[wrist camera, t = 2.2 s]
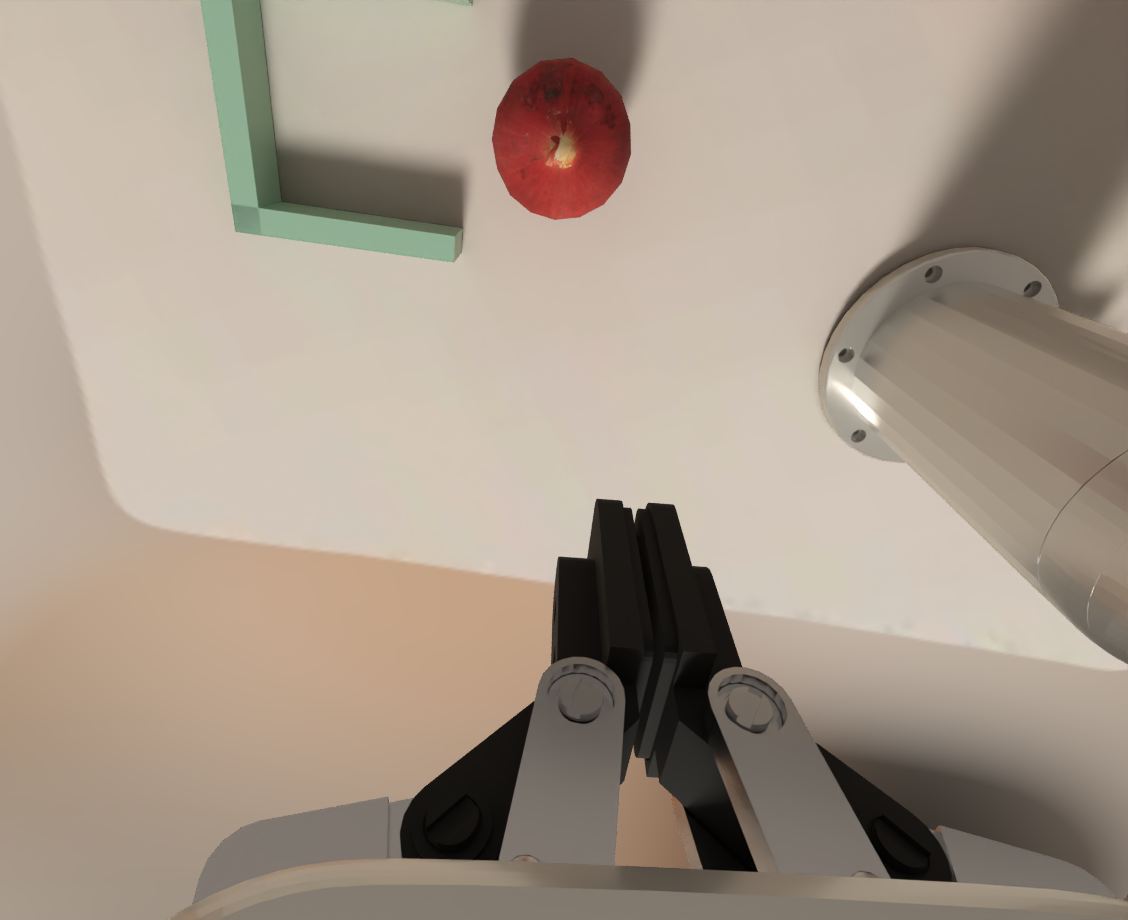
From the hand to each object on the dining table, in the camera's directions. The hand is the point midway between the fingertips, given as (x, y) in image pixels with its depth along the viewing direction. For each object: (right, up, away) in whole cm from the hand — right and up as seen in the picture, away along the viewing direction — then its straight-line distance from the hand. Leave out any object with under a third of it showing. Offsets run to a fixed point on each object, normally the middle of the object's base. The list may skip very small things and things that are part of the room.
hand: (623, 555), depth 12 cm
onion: (-1, +17, +15) cm, 23 cm away
